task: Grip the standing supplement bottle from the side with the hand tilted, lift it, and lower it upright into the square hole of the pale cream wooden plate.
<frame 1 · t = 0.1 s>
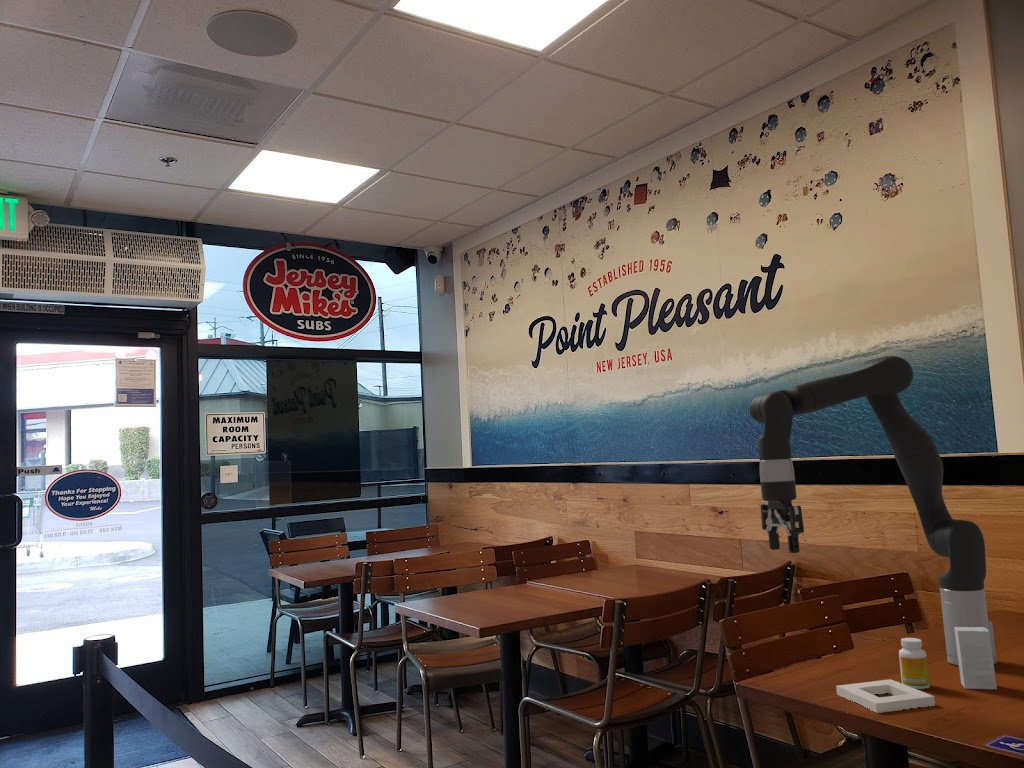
hand: (784, 551, 177), 29 cm above the table, tool pointing down, fingers open, 8 cm apart
supplement bottle: (916, 687, 167), on the table
hole plate: (884, 699, 159), on the table
skincare box: (978, 687, 164), on the table
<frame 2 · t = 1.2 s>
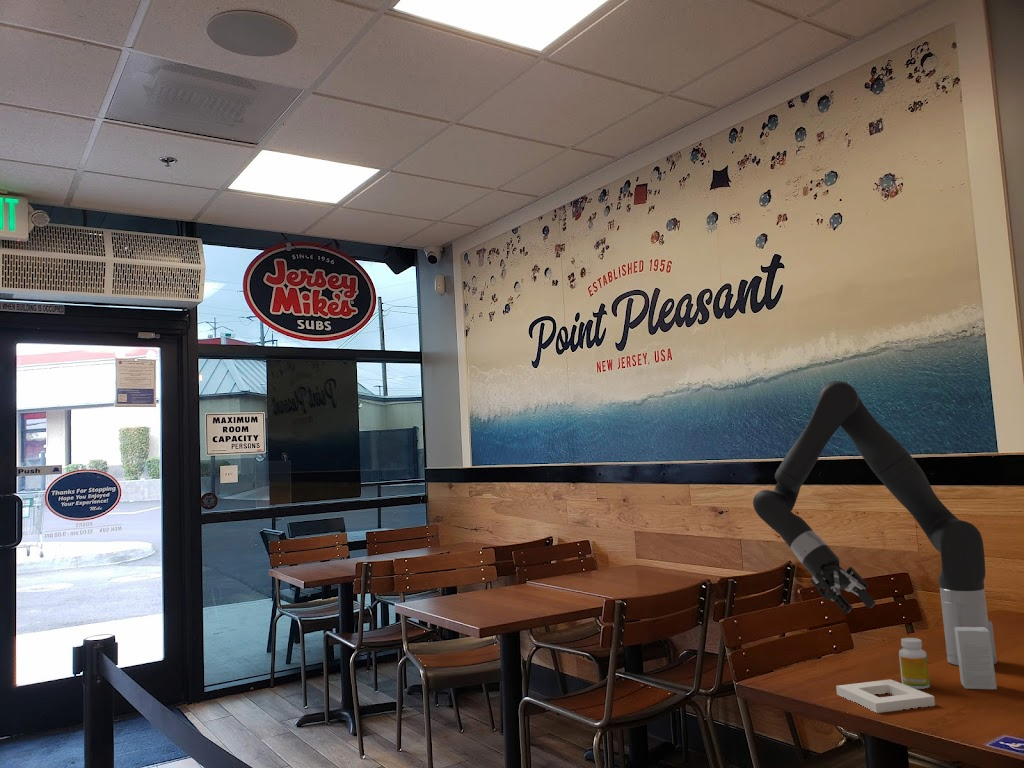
hand: (861, 608, 179), 15 cm above the table, tool tilted 45°, fingers open, 8 cm apart
nothing on the table moved.
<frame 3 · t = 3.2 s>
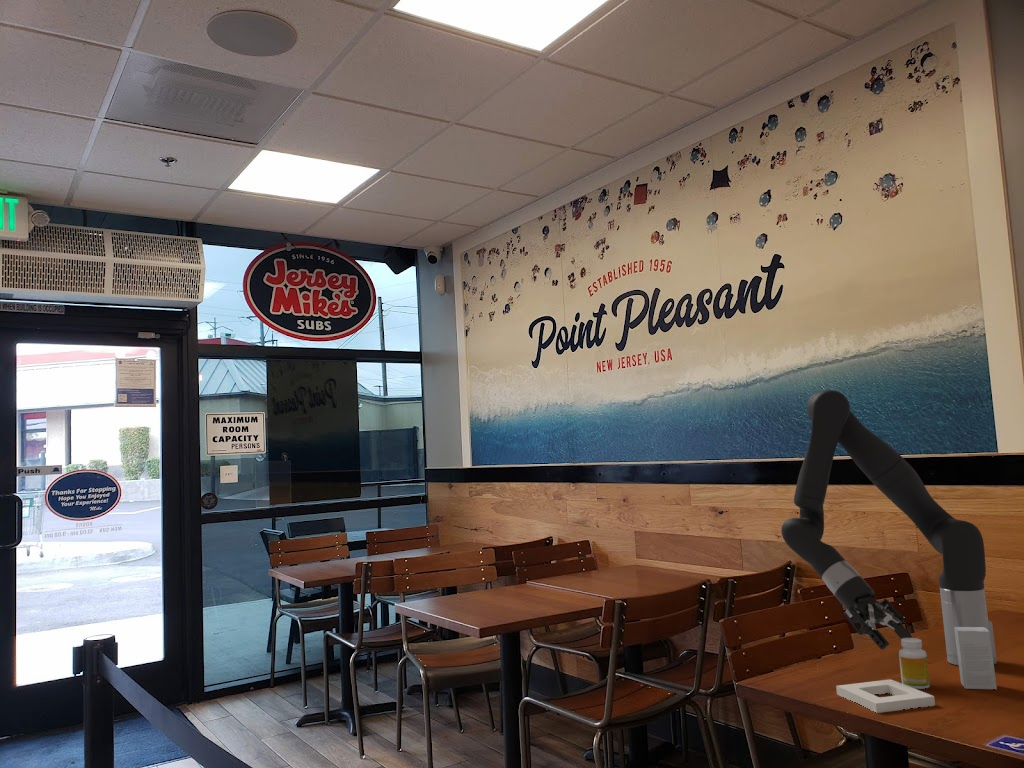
hand: (897, 644, 171), 8 cm above the table, tool tilted 45°, fingers open, 8 cm apart
nothing on the table moved.
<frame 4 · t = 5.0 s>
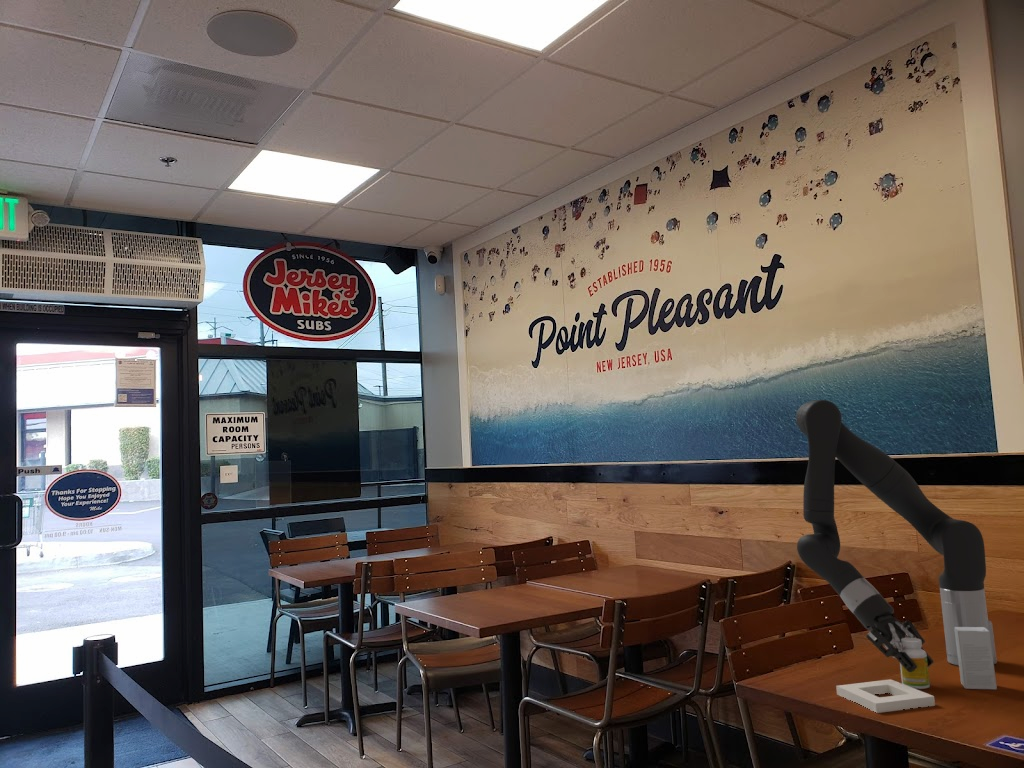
hand: (921, 667, 166), 4 cm above the table, tool tilted 45°, fingers closed on supplement bottle, 5 cm apart
supplement bottle: (916, 686, 167), on the table, touching gripper
everything else where it was.
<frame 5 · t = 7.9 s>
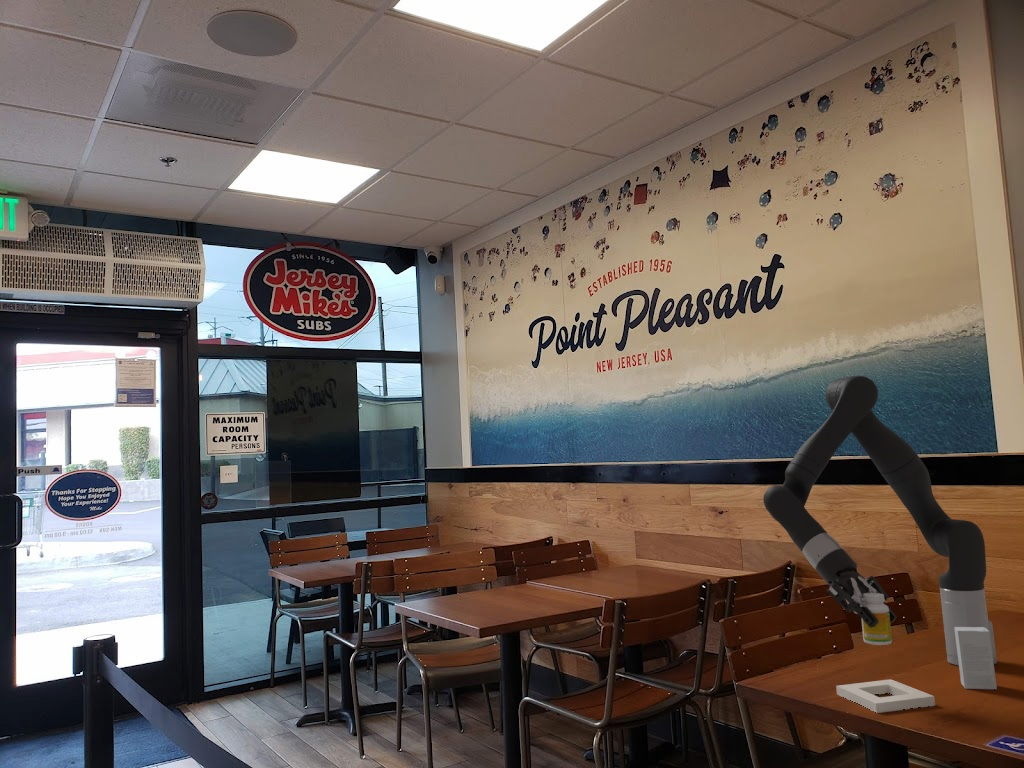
hand: (884, 622, 159), 16 cm above the table, tool tilted 45°, fingers closed on supplement bottle, 5 cm apart
supplement bottle: (877, 643, 160), point 11 cm above the table, touching gripper
everything else where it was.
when the fingers open (5 cm above the table, at t = 10.7 s): supplement bottle stays where it is, resting in hole plate.
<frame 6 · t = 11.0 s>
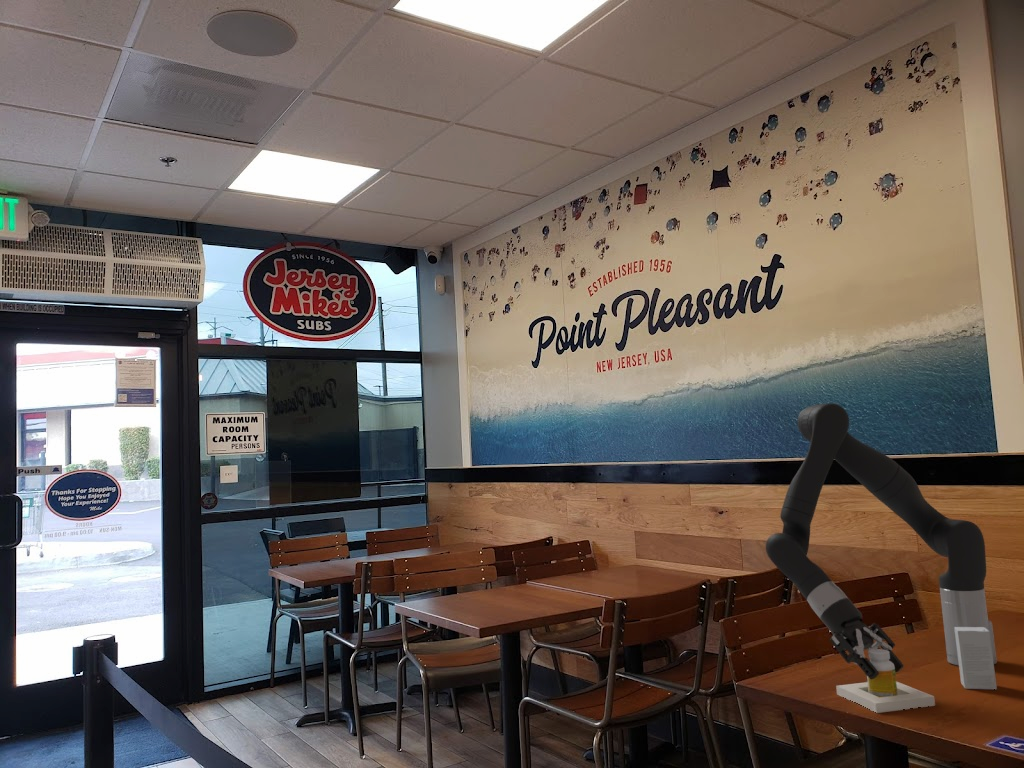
hand: (888, 673, 159), 6 cm above the table, tool tilted 45°, fingers open, 8 cm apart
supplement bottle: (883, 700, 159), resting in hole plate
everything else where it was.
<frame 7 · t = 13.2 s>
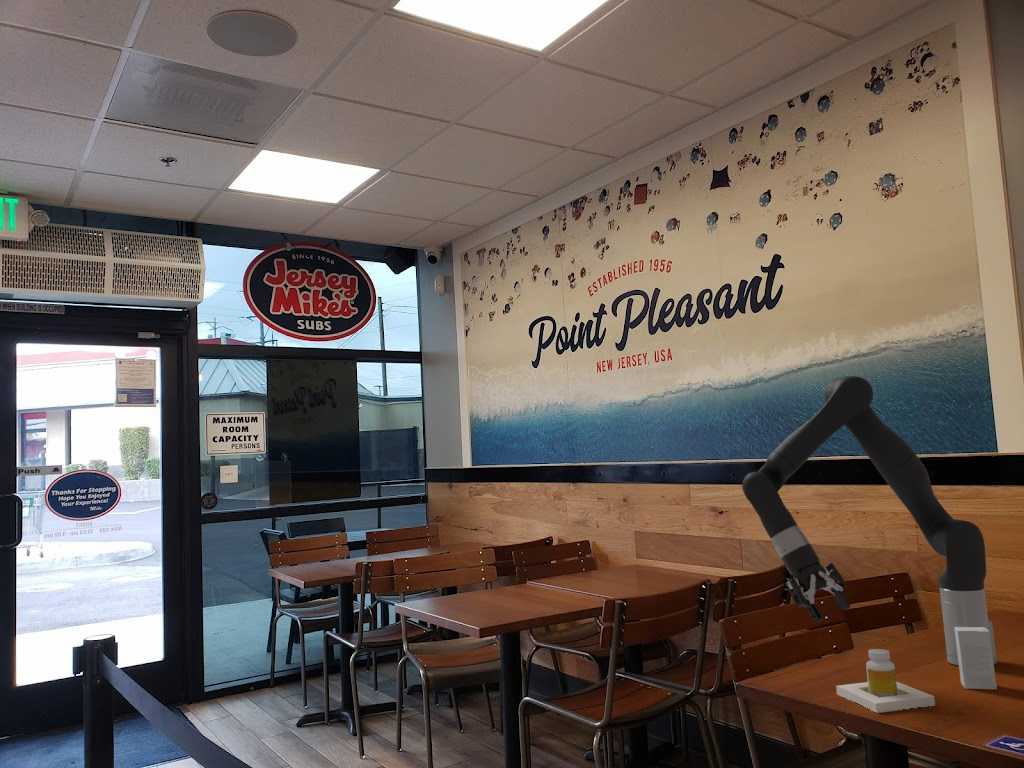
hand: (834, 615, 175), 14 cm above the table, tool tilted 30°, fingers open, 8 cm apart
nothing on the table moved.
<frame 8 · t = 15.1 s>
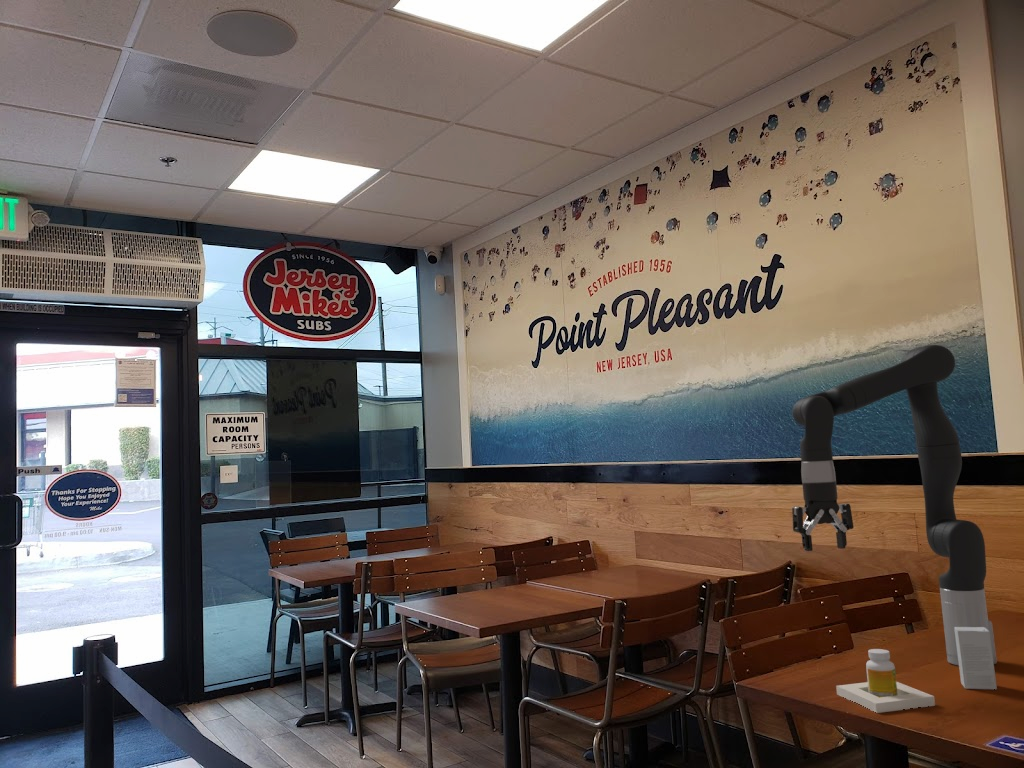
hand: (825, 549, 183), 28 cm above the table, tool pointing down, fingers open, 8 cm apart
nothing on the table moved.
at the end: supplement bottle 0.2 cm off-centre on the hole plate, point 0.0 cm above the hole plate's base; supplement bottle tilted 0°; the gripper is holding nothing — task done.
